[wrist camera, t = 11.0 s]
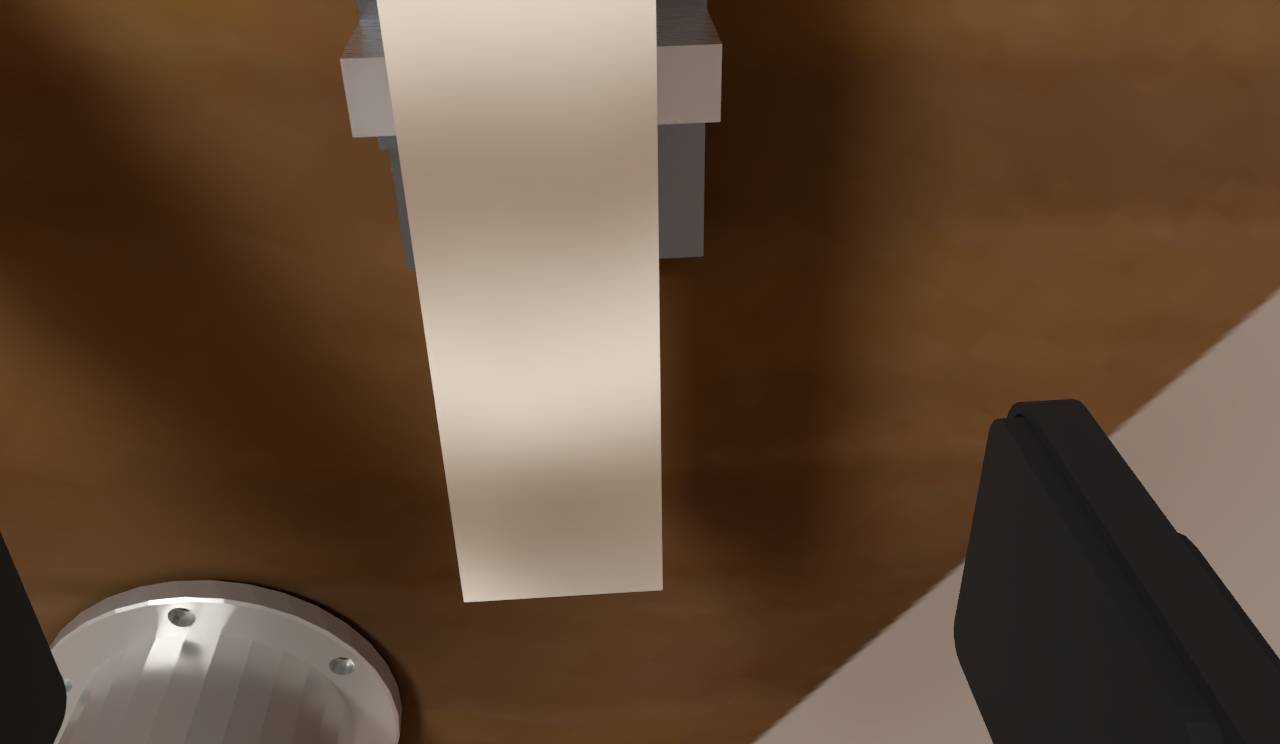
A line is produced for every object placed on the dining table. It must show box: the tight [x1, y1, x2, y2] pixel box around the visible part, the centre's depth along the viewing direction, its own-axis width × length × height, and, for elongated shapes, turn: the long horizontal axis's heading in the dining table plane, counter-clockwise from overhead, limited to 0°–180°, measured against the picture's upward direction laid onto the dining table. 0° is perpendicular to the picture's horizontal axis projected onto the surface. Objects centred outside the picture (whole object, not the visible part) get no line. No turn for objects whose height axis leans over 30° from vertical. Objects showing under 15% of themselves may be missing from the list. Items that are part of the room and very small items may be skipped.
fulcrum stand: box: [340, 0, 722, 271], centre depth 24 cm, size 14×8×8 cm, turn 1°
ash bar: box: [377, 0, 663, 602], centre depth 19 cm, size 18×4×4 cm, turn 1°
